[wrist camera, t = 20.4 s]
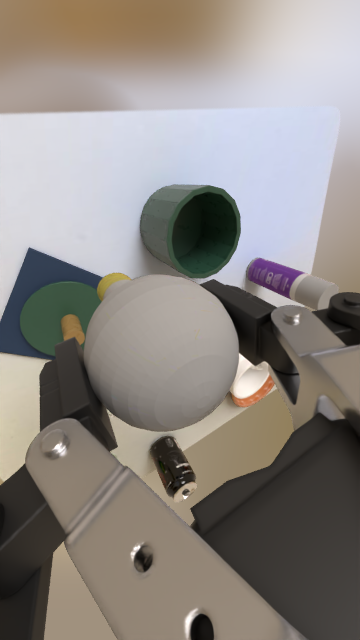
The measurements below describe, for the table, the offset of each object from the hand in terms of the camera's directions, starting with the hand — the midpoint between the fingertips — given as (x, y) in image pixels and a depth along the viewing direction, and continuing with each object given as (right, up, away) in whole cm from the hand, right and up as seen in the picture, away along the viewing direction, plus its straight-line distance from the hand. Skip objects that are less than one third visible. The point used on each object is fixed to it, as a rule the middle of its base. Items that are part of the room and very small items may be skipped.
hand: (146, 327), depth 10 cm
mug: (+13, -7, +44) cm, 46 cm away
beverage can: (-3, -30, +48) cm, 56 cm away
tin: (0, +14, +24) cm, 28 cm away
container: (+16, +10, +36) cm, 41 cm away
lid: (-14, 0, +22) cm, 26 cm away
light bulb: (-3, +2, +4) cm, 6 cm away
